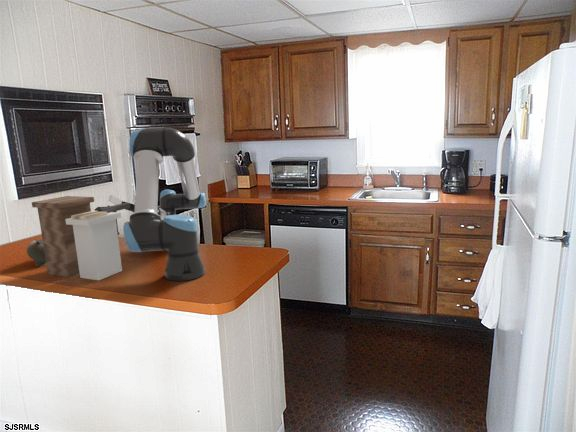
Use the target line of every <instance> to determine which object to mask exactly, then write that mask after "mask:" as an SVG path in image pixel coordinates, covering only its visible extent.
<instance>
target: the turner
mask: <svg viewBox="0 0 576 432" xmlns="http://www.w3.org/2000/svg"><path fill="white" fill-rule="evenodd" d="M104 207H105V208H101V209H97V211H95V210H91V211H90V212H86V213H81V214H77V215H72V216H71V219H81V220H88V219H92V218H96V217H100V216H104V215H107V213H110V212H114V211H117V212H118V211H122V210H126V209H127V208H130V202H127V203H123V204H118V205H116V204H114V205H109V207H107V206H104Z"/></svg>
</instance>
